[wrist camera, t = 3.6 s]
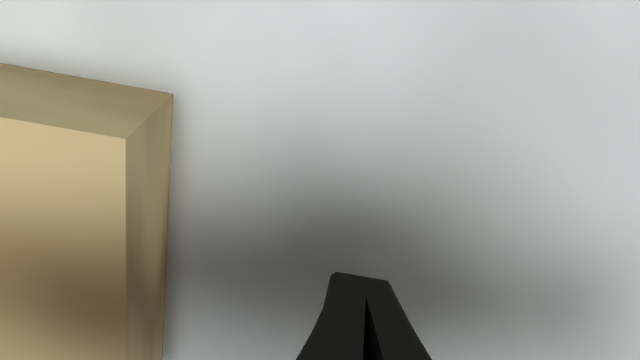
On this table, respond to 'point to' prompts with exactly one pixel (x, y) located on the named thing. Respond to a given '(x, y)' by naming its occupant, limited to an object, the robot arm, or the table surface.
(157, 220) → the oak slab
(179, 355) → the table surface
